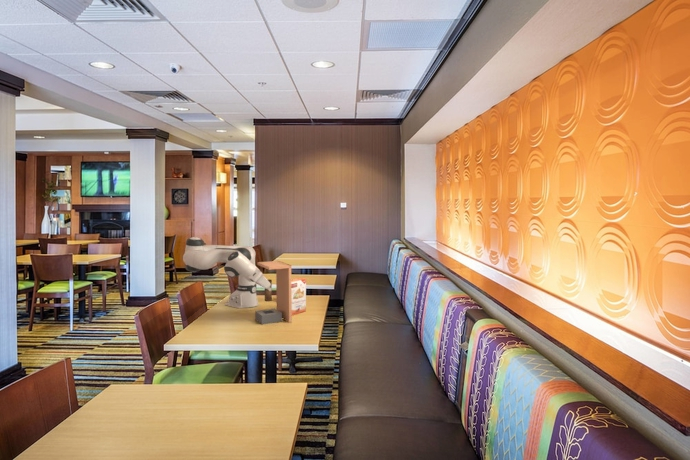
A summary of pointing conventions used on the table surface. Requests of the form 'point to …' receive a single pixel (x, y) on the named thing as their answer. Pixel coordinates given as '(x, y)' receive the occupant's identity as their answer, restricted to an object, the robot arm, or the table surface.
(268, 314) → the socket
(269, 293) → the peg
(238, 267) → the robot arm
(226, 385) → the table surface
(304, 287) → the cracker box
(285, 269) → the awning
